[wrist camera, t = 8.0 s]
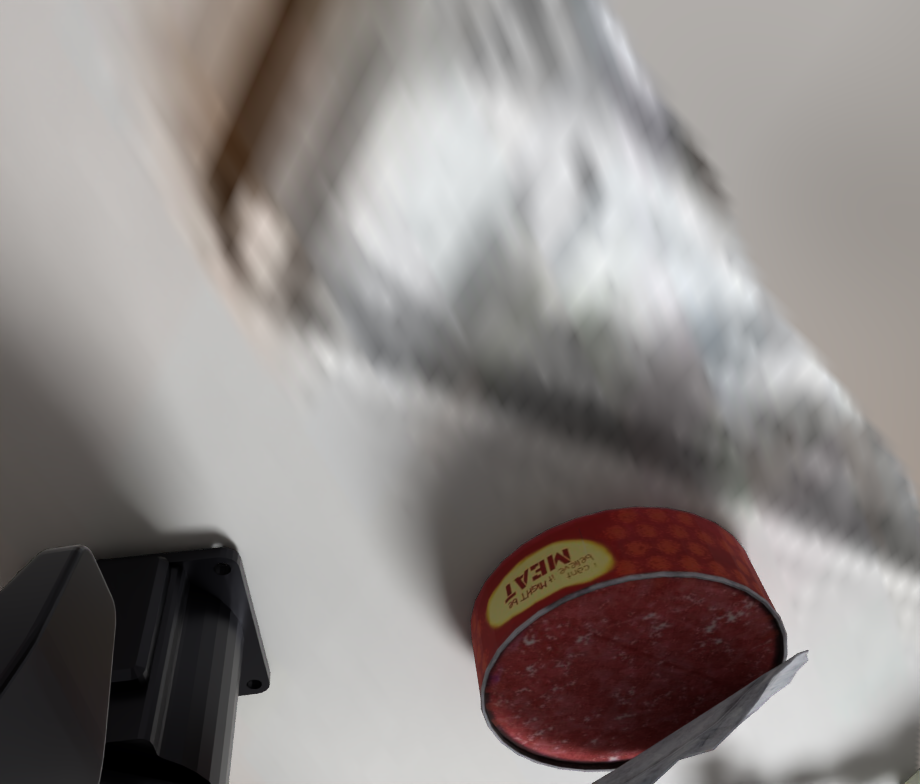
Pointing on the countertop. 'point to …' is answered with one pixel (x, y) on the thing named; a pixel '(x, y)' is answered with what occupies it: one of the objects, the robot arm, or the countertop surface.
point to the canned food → (626, 643)
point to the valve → (914, 779)
